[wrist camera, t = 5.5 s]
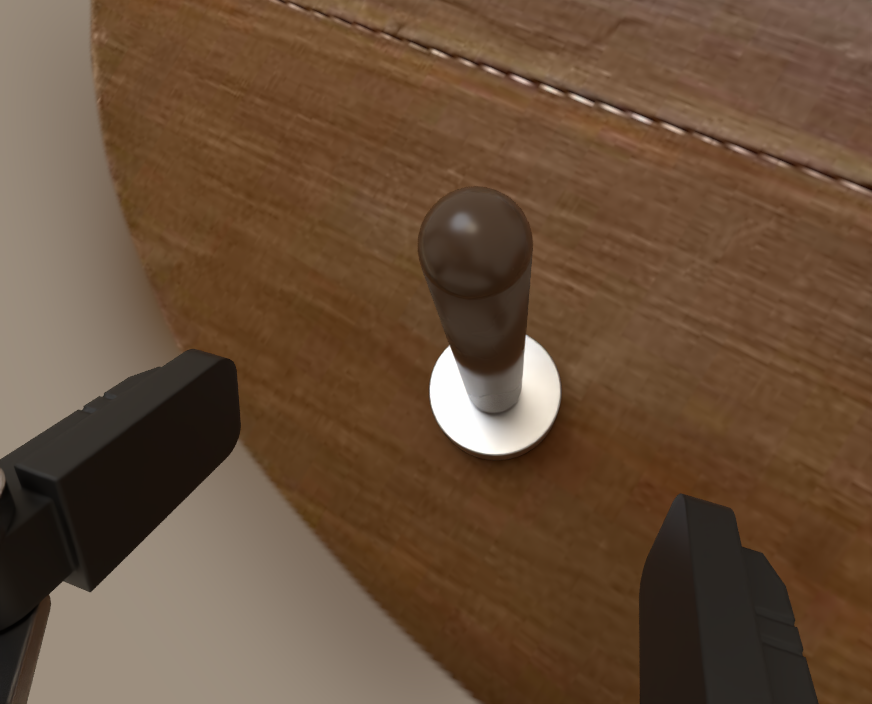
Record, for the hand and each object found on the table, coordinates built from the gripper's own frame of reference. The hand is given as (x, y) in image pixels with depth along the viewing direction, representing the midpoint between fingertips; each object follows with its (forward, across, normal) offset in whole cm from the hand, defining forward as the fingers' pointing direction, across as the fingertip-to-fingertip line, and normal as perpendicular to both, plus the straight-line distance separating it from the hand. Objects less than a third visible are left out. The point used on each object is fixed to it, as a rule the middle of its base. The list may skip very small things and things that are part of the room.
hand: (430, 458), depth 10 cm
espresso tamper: (+9, 0, +5) cm, 10 cm away
